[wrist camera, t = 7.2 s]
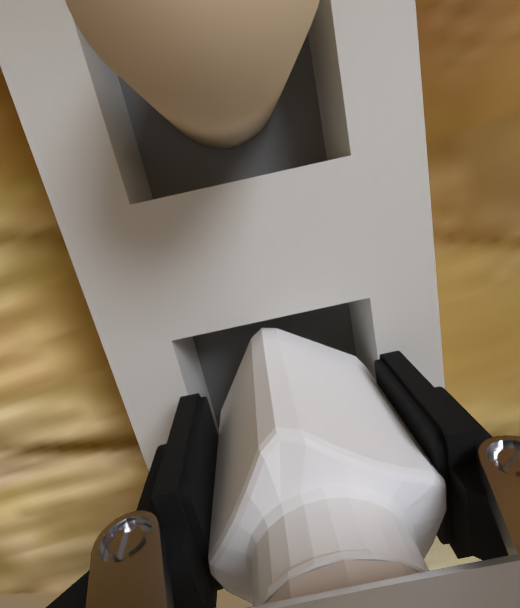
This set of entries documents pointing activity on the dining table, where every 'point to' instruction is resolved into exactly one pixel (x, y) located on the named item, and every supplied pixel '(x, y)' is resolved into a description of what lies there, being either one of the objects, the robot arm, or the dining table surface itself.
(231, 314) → the block
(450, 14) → the dining table surface
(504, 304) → the dining table surface
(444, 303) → the dining table surface
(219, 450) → the pepper shaker
